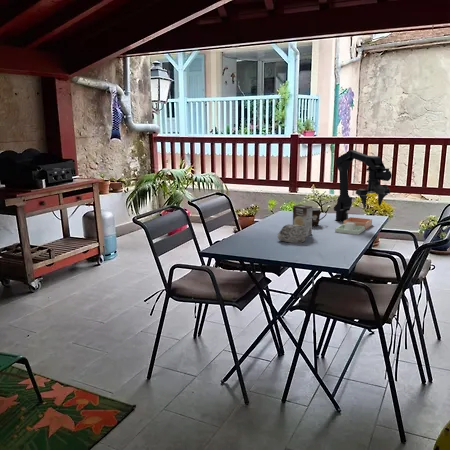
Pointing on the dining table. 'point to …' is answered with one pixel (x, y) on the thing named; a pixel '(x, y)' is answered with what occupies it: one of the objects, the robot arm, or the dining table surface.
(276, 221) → the dining table surface
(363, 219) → the terracotta bin
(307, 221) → the coffee box
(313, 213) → the coffee mug
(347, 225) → the grey block
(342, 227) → the pale green tray
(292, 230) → the rock
